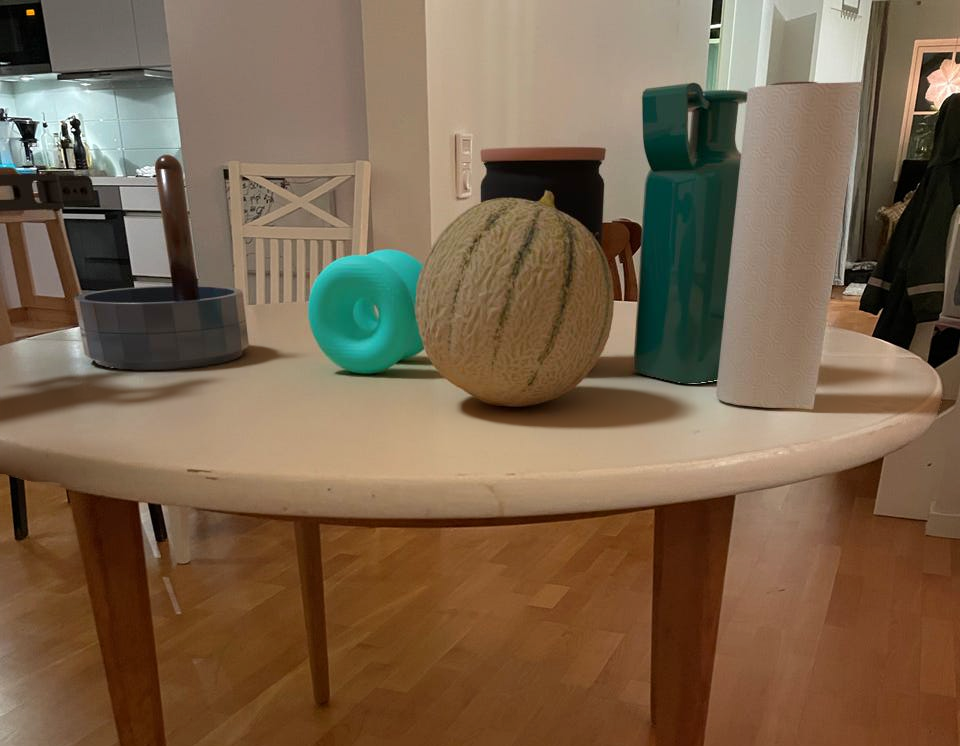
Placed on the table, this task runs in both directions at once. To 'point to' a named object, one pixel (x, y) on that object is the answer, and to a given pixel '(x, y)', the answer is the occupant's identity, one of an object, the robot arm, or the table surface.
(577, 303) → the cantaloupe
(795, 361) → the paper towel roll
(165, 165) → the wooden masher
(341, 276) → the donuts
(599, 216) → the coffee jar
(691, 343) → the pitcher
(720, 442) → the table surface
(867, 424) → the table surface
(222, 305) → the bowl
